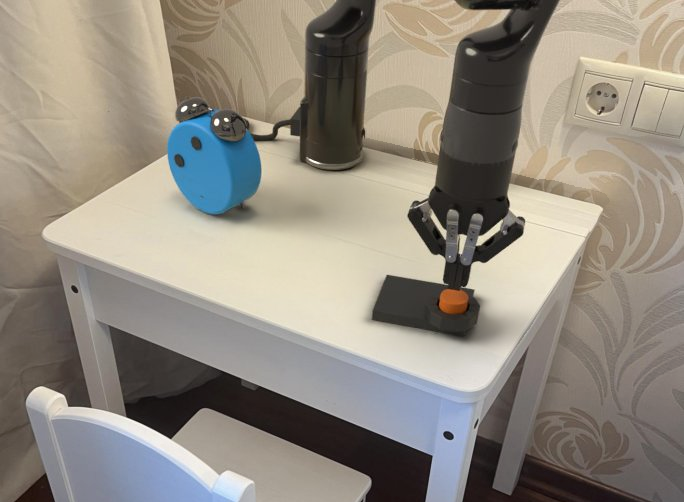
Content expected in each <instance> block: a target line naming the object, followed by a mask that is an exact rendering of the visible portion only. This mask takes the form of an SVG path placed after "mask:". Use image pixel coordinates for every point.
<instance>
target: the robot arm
mask: <svg viewBox="0 0 684 502" xmlns="http://www.w3.org/2000/svg"><path fill="white" fill-rule="evenodd" d="M453 1H454V2H455V3H456V4H457V6H459V7H460V8H462V9H463V10H468V11H503V10H505V11H508V10H509V11H508V13H507V14H506V15H505V17H503V19H502V20H500V22H498V23H497V24H494V25H492V26H489V27H485V28H481V29H478V30H476V31H473V32H470V33H468V34H466V35H464V36H463V37H461V39H460V40H459V42H458V44H457V46H456V49H455V50H456V51H455V55H454V61H453V69H452V76H451V81H450V82H451V83H450V91H449V96H448V97H449V98H448V102H447V106H446V109H445V113H444V117H443V122H442V129H441V130H440V136H439V137H440V138H439V141H440V143H439V152H438V159H437V167H436V174H435V182H434V186H433V187H432V188H431V189H430V191H429V195H428V196H427V198H424V199H423V200H421V201H419V200H414V201H412V203H411V205H410V206H409V209H408V212H407V220H408V221H409V223H410V224H411V225H412V227H413V228H414V230H415V231H416V233H417V234H418V235H419V238H420V239H421V240H422V241H423V244H425V246H426V247H427V249H428V251H429V252H430V254H431V255H433V256H441V257H442V258H444V260H445V262H444V269H443V275H442V282H443V284H445V285H448V288H447V289H450V290H456V291H460V289H461V287H463V288H467V286H468V284H469V280H470V276H471V271H472V265H473V264H474V263H477V262H479V263H481V264H486V263H488V262H489V261H491V260H492V259H493V258H495V257H496V256H497V255H498V254H500V253H502V252H503V251H504V250H505V249H507V248H508V247H509V246H511V245H512V244H513V243H514V242H516V241H517V240H519V239H520V238H521V237H522V236H524V231H525V226H526V219H525V217H524V216H520V215H519V216H516V215H515V214H514V213H513V211H512V210H510V208H511V202H510V199H509V196H508V195H509V193H508V192H509V188H510V183H511V177H512V173H513V169H514V168H513V167H514V162H515V158H516V153H517V149H518V146H519V139H520V133H521V126H522V112H523V105H524V99H525V94H526V89H527V85H528V79H529V75H530V70H531V65H532V62H533V59H534V56H535V54H536V52H537V49H538V47H539V45H540V42H541V40H542V39H543V35H544V34H545V31H546V29H547V27H548V25H549V23H550V20H551V19H552V17H553V15H554V13H555V11H556V9H557V7H558V5H559V3H560V1H561V0H453ZM376 5H377V0H335V1H334V3H332V5H331V6H330V7H329V8H328V9H327V10H326V11H324V12H322V13H321V14H319V15H317V16H316V17H314V18H313V19H311V20H310V21H309V22H308V24H307V25H306V28H305V33H304V88H303V89H304V91H303V93H304V94H303V95H304V96H303V98H301V100H300V102H299V103H300V104H299V107H298V108H297V109H296V111H295V112H294V113H293V115H292V116H291V117H290V118H289V119H284V120H281V121H278V122H276V123H275V124H274V125H273V126H272V131H271V133H269V134H255V133H252V132H249V133H250V134H251V136H252V138H253V140H254V141H257V142H259V141H260V142H263V141H265V142H266V141H272V140H274V139H276V138H277V136H278V134H279V129H281V128H283V127H287V126H290V127H289V128H290V129H289V130H290V131H289V134H290V136H292V137H299V162H303V163H307V164H308V165H309V166H312V167H315V168H317V169H321V170H328V171H340V170H341V171H342V170H346V169H350V168H353V167H356V166H357V165H359V164H360V163H361V162H362V160H363V156H364V155H363V148H364V143H363V142H364V140H366V129H365V113H366V95H367V80H368V65H369V49H370V38H371V34H372V31H373V28H374V24H375V15H376V13H375V12H376ZM243 118H244V120H245V122H246V127H247V130H248V129H249V127H250V122H249V120H248V119H246V118H245V117H243ZM248 131H249V130H248ZM433 214H434V216H435V217H436V219H437V221H438V223H439V225H440V226H441V228H442V229H444V230H445V231H446V232H445V233H446V234H445V237H444V235H443V234H442V232H441V231H440V229H439V228H438V226H437V224H436V223H435V221H434V220H433V218H432V215H433ZM501 221H502V222H501ZM500 222H501V223H500ZM499 223H500V227H499V230H498V231H496V232H495V233H494V234H493V235H491V236H490V237H489V238H487V239H486V240H484V241H483V242H482V243H481V244H478V245H477V243H478V239H479V237H482V236H485V234H487V233H488V232H489V231H490V230H492V229H493V228H494V227H495V226H497V225H498V224H499ZM461 235H464V236H466V238H465V241H464V245H463V248H462V252H461V253H460V248H461V247H460V246H461Z"/></svg>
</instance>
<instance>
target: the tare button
mask: <svg viewBox="0 0 684 502" xmlns="http://www.w3.org/2000/svg"><path fill="white" fill-rule="evenodd" d="M467 304H468V295H467V294H466V293H465V292H464V291H462V290H460V291H456V290H450V289H446V290H444V291H443V292H442V293H441V295H440V302H439V308H440V310H441V311H443V312H445V313H448V314H453V315H456V314H463V313H464V312H465V311H466V309H467Z"/></svg>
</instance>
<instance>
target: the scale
mask: <svg viewBox="0 0 684 502" xmlns="http://www.w3.org/2000/svg"><path fill="white" fill-rule="evenodd" d="M447 288H448V284H444V283H441V282H434V281H428V280H421V279H415V278H409V277H403V276H398V275H391V274H386V275H385V278H384V280H383V283H382V286H381V288H380V291H379V293H378V296H377V298H376V300H375V303H374V306H373V308H372V313H371V320H372V321H377V322H381V323H382V322H383V323H388V324H392V325H393V324H394V325H399V326H405V327H410V328H415V329H416V328H417V329H421V330H427V331H432V332H437V333H443V334H449V335H453V336H460V337H465V334H466V331H468V330H470V329H472V328H473V327H475V326H477V324H478V321H479V320H478V319H479V315H480V309H481V304H480V303H479V302H478V300H477V298H476V297H475V291H476V290H475V288H469V287H461V289H460V290H462V291H464V292H465V293H466V294H467V295H468V304H467V309H466V311H465V312H464V313H463V314H456V315H453V314H448V313H445V312H443V311H441V310H440V308H439V302H440V295H441V293H442V292H443V291H444V290H446V289H447Z"/></svg>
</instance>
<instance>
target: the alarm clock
mask: <svg viewBox="0 0 684 502" xmlns="http://www.w3.org/2000/svg"><path fill="white" fill-rule="evenodd" d="M174 117H175V120H176V122H179V121H181V122H179V123H178V124H176V125H175V126H174V127H173V128H172V130H171V131H170V133H169V136H168V140H167V146H166V152H167V161H168V167H169V169H170V172H171V176H172V178H173V180H174V182H175V184H176V186H177V188H178V189H179V191H180V192H181V194H182V195H183V196H184V197H185V199H186V200H187V201H188V203H190V204H191V205H192V206H193V207H194V208H196V209H197V210H199V211H201V212H203V213H205V214H208V215H220V214H223V213H225V212H227V211H229V210H231V209H233V208H234V207H236V206H238V205H240V207H241V209H245V208H246V206H245V202H246V201H248V200H250V199H251V198H252V197H253V196H254V195H255V194H256V193H257V191H258V189H259V187H260V185H261V180H262V171H263V169H262V160H261V155H260V152H259V149H258V146H257V144H256V142H255V140H253V138H252V136H251V134H252V133H251V132H250V131H249V130H247V127H246V122H245V120H244V118H245V117H243V116H242V115H241V114H240V113H239V112H238V111H236V110H234V109H231V108H222V109H214V108H212V107H211V106H210V104H209V102H208V101H207V100H206V99H204V98H203V97H200V96H193V97H188V95H187V96H185V100H182V101H181V102H180V103H179V104H178V105H177V106H176V109H175V113H174ZM185 119H186V120H185ZM182 120H183V121H182ZM250 133H251V134H250Z"/></svg>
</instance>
